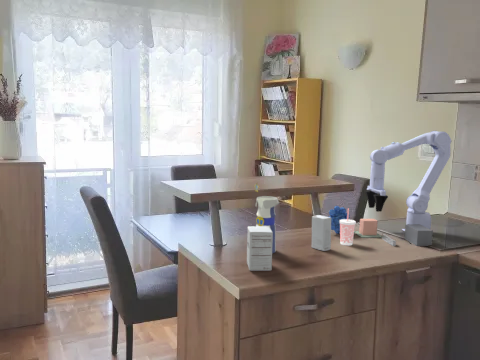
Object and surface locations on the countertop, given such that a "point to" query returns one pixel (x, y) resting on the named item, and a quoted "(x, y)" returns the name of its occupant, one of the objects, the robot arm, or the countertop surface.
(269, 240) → the supplement box
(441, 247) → the countertop surface
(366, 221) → the salmon pink block
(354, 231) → the mat
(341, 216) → the grapes
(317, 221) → the skincare box
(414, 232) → the gray rectangular block
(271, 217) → the spray bottle
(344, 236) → the beverage cup
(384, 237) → the bar
